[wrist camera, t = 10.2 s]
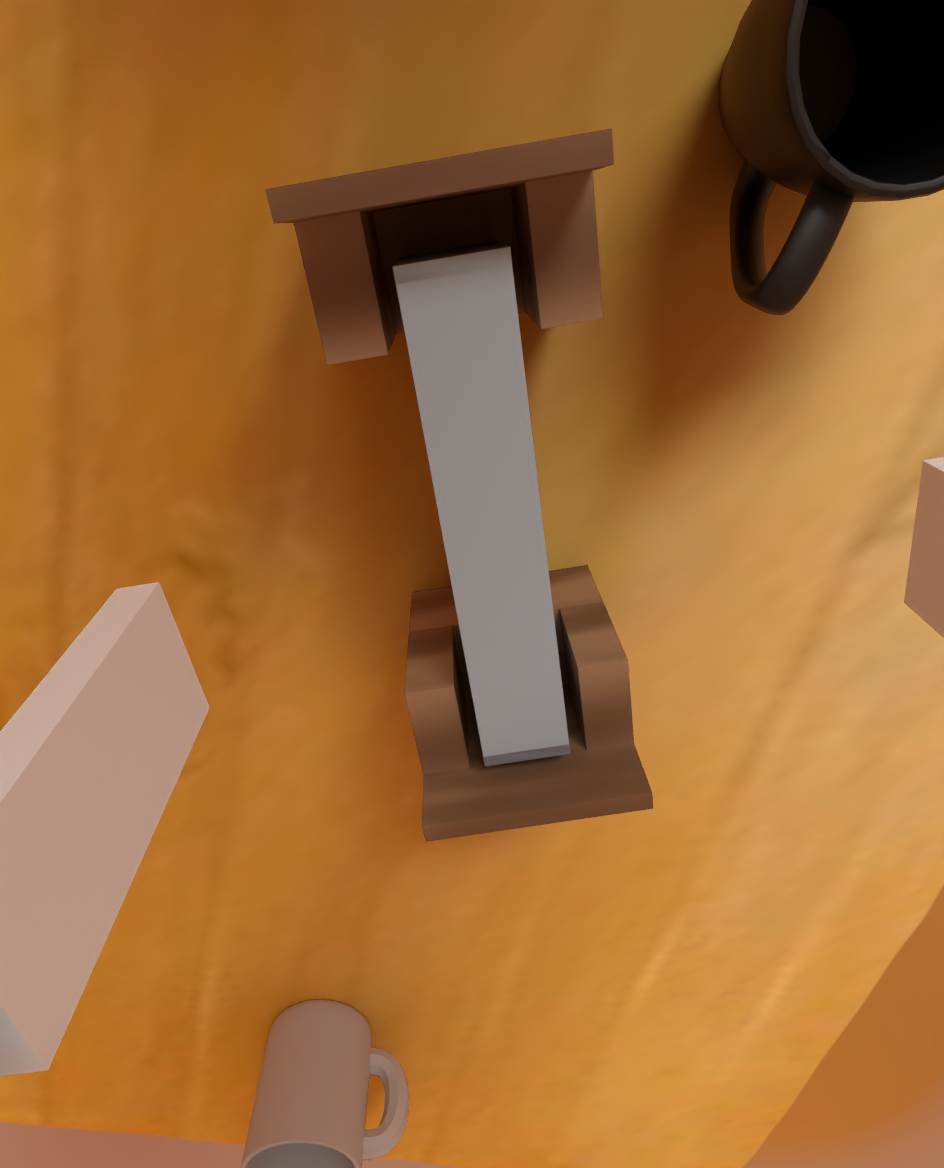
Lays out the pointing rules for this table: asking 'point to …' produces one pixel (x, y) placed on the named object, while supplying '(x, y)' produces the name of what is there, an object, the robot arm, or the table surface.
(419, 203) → the post head
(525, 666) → the rail
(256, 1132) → the cup
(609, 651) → the post foot
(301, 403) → the table surface
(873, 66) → the mug
